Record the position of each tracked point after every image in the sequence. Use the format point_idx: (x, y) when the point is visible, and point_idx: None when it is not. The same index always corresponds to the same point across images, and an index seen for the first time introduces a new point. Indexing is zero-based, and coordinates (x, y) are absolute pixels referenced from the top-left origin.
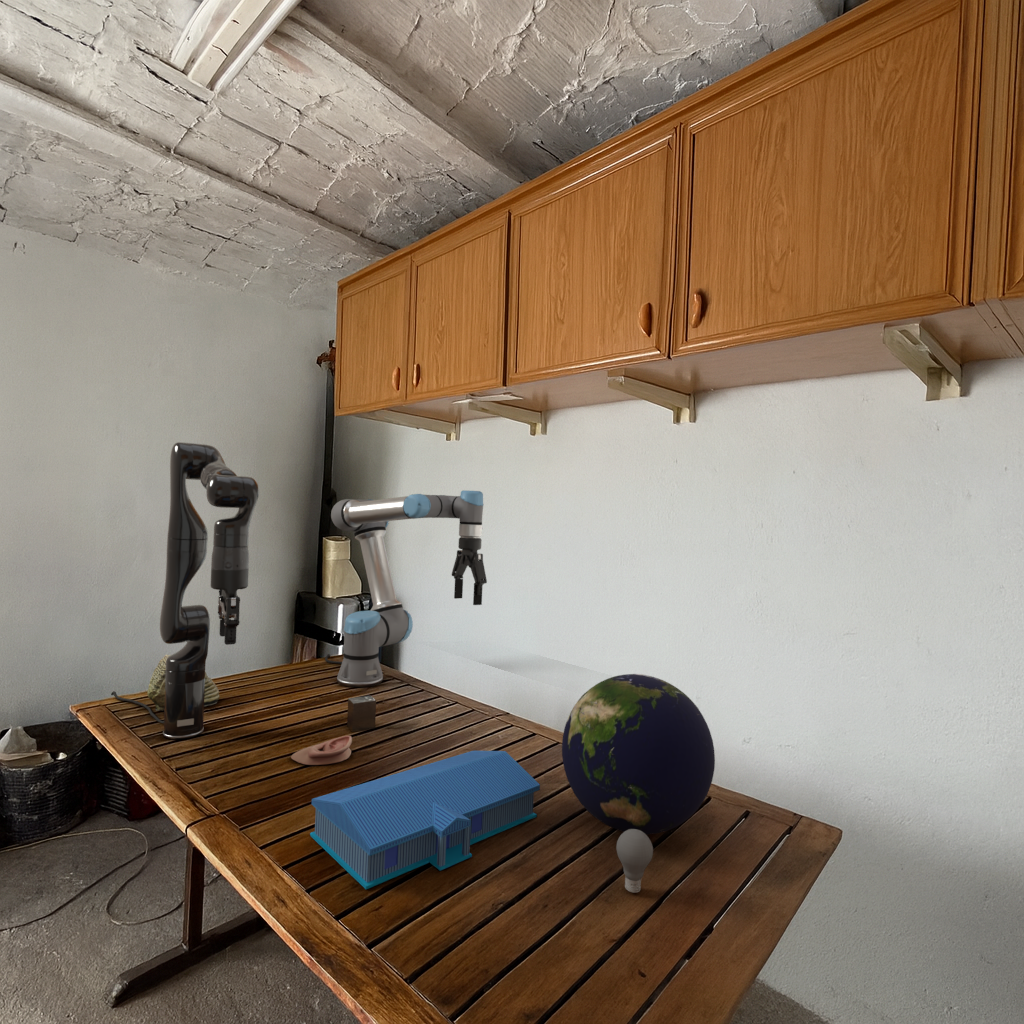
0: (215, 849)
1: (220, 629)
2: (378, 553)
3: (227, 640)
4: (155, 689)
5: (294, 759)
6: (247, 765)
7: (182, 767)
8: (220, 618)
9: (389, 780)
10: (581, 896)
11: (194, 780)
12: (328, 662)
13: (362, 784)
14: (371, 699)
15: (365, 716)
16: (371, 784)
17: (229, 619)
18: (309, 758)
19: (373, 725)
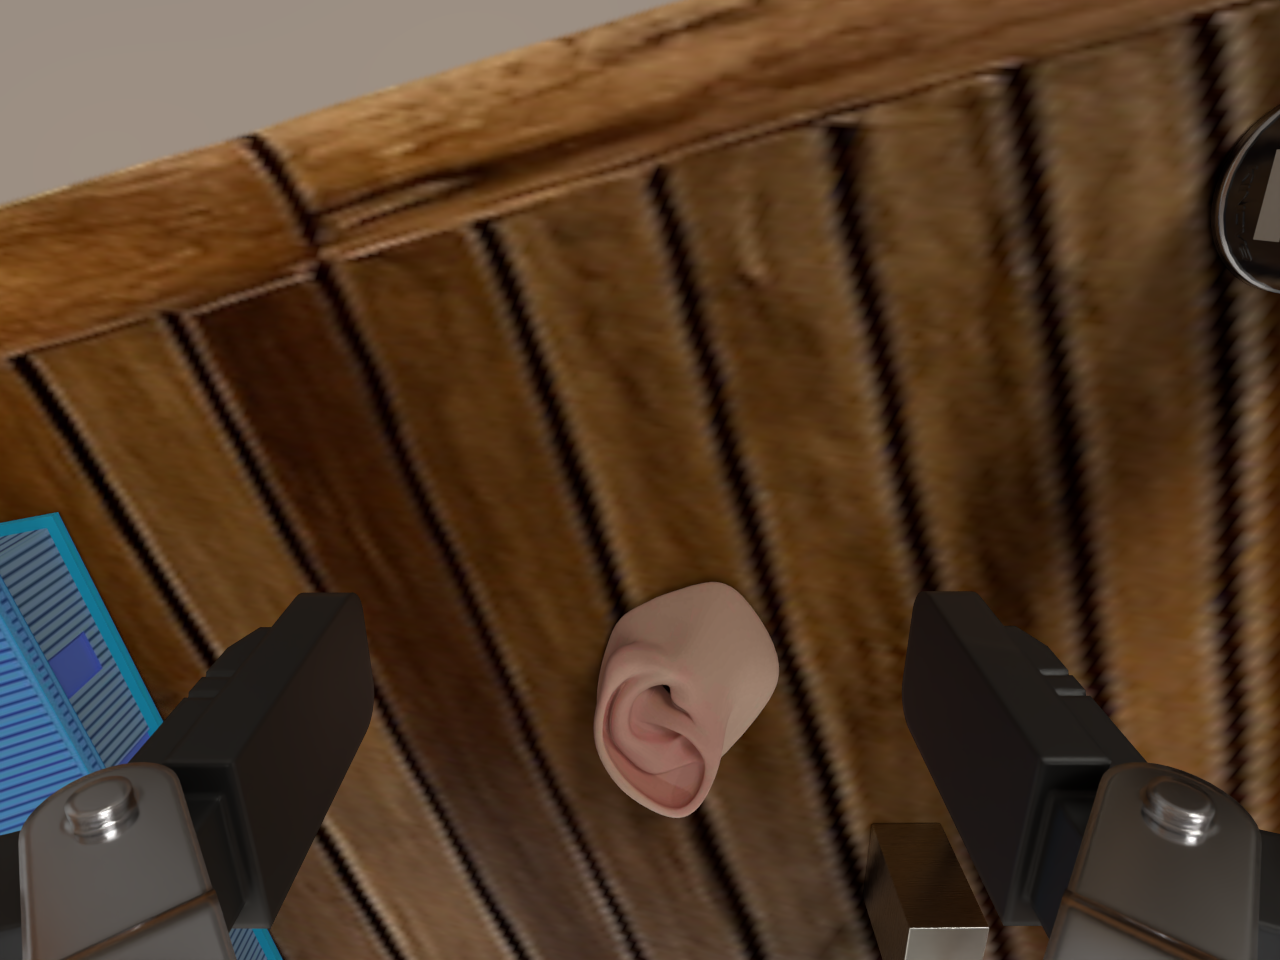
0: (40, 214)
1: (960, 648)
2: None
3: (230, 647)
4: None
5: (683, 590)
6: (734, 419)
7: (851, 155)
8: (1103, 788)
9: (1, 828)
10: None
11: (676, 195)
12: None
13: (56, 745)
14: None
15: (882, 911)
16: (3, 771)
17: (1041, 906)
18: (632, 639)
19: (866, 901)
